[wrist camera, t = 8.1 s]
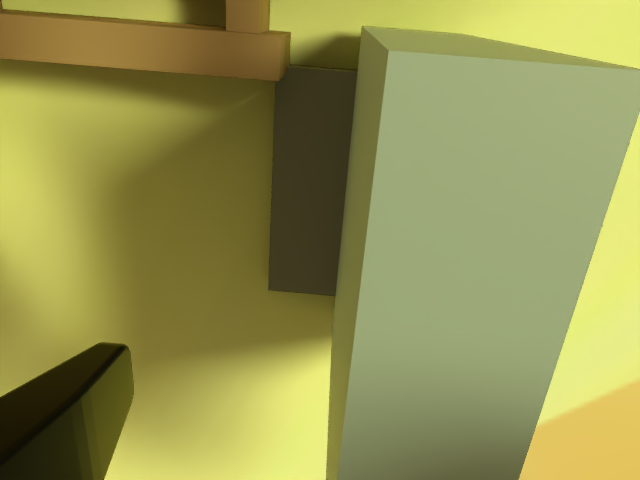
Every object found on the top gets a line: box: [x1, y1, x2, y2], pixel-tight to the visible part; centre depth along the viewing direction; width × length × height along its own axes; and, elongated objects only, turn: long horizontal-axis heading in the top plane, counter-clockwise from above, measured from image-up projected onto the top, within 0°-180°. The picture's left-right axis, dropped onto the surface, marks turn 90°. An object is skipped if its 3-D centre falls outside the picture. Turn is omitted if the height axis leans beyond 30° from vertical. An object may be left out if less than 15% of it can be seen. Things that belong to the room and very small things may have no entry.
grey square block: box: [326, 26, 640, 480], centre depth 11 cm, size 3×9×9 cm, turn 176°
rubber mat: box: [268, 65, 358, 296], centre depth 15 cm, size 7×7×1 cm
